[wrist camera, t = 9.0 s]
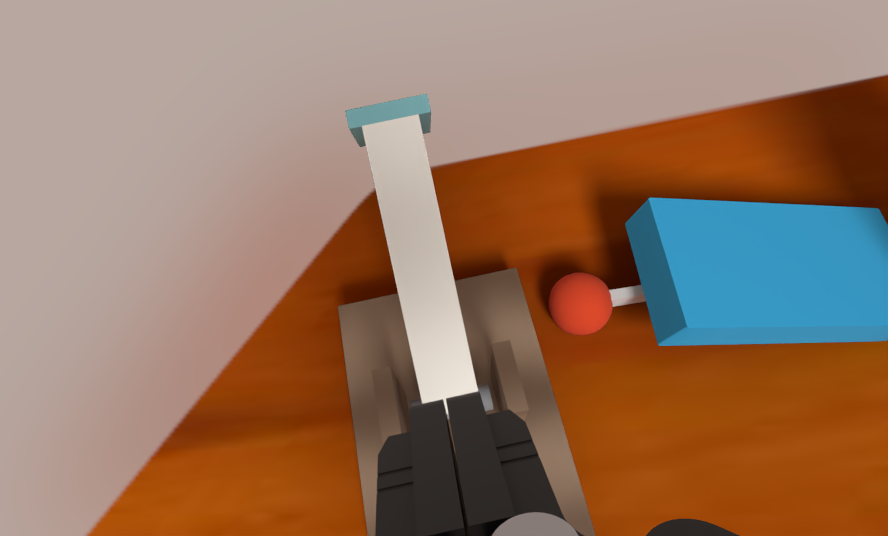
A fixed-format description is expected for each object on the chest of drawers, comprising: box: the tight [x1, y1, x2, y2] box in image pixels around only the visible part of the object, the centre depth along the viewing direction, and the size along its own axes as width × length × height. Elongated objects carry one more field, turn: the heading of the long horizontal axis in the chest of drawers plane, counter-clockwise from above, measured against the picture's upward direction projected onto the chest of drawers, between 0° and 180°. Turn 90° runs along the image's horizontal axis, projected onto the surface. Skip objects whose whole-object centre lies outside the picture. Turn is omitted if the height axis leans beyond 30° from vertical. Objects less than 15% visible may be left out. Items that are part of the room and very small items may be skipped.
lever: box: [549, 198, 888, 346], centre depth 30 cm, size 7×7×18 cm
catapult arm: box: [345, 94, 493, 419], centre depth 26 cm, size 4×4×14 cm
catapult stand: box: [338, 268, 596, 536], centre depth 26 cm, size 14×10×7 cm
